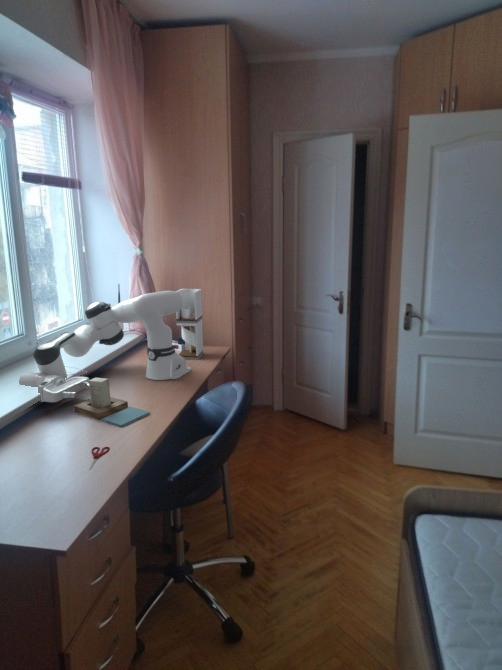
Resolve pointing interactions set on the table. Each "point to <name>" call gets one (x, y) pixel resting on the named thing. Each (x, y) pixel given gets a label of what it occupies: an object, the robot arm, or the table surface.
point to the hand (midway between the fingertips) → (83, 391)
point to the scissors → (98, 454)
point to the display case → (191, 323)
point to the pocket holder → (101, 413)
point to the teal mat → (125, 416)
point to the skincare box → (99, 392)
